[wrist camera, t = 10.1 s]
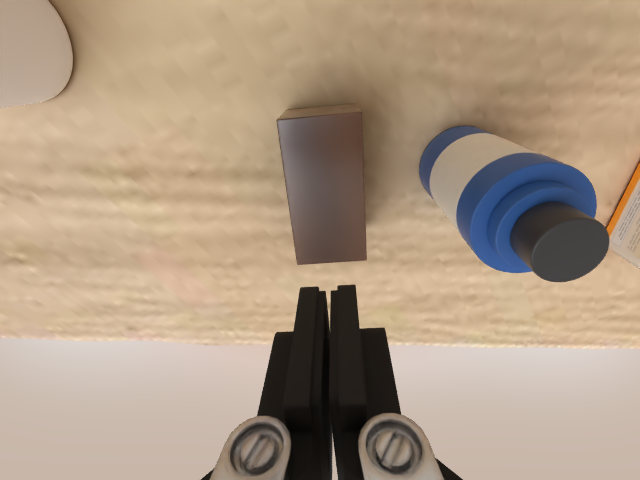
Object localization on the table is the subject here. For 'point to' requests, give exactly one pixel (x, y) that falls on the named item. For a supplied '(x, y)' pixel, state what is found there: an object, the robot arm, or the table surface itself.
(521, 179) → the bottle
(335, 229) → the block
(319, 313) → the robot arm
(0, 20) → the pill bottle
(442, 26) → the table surface
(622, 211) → the supplement box
